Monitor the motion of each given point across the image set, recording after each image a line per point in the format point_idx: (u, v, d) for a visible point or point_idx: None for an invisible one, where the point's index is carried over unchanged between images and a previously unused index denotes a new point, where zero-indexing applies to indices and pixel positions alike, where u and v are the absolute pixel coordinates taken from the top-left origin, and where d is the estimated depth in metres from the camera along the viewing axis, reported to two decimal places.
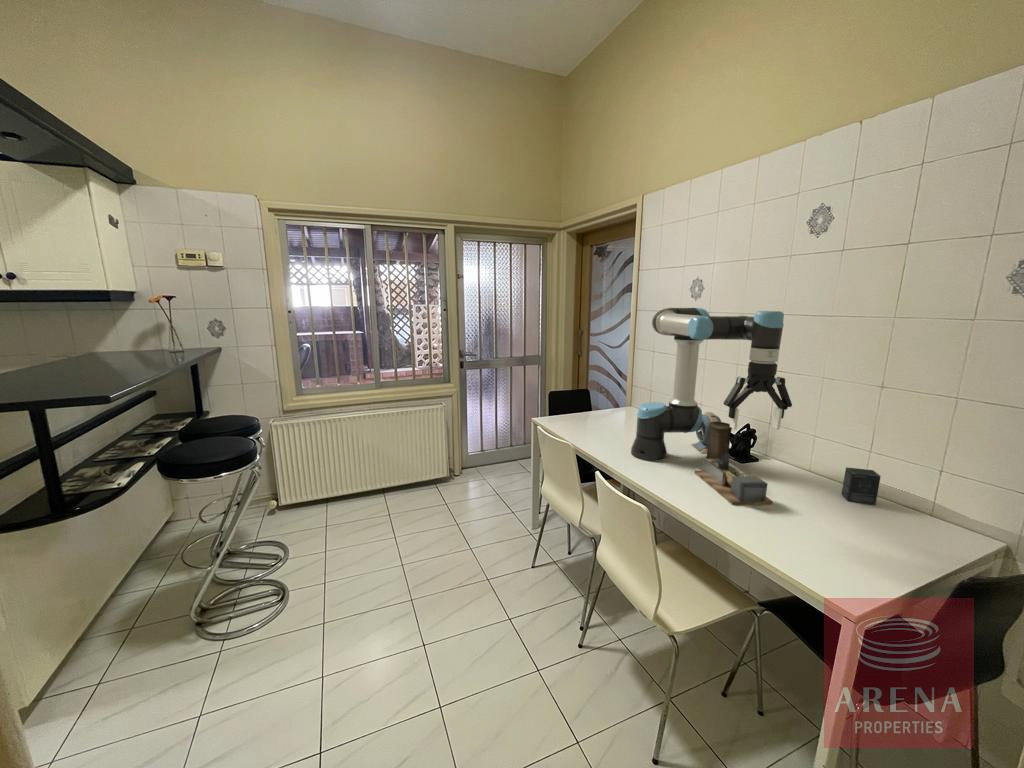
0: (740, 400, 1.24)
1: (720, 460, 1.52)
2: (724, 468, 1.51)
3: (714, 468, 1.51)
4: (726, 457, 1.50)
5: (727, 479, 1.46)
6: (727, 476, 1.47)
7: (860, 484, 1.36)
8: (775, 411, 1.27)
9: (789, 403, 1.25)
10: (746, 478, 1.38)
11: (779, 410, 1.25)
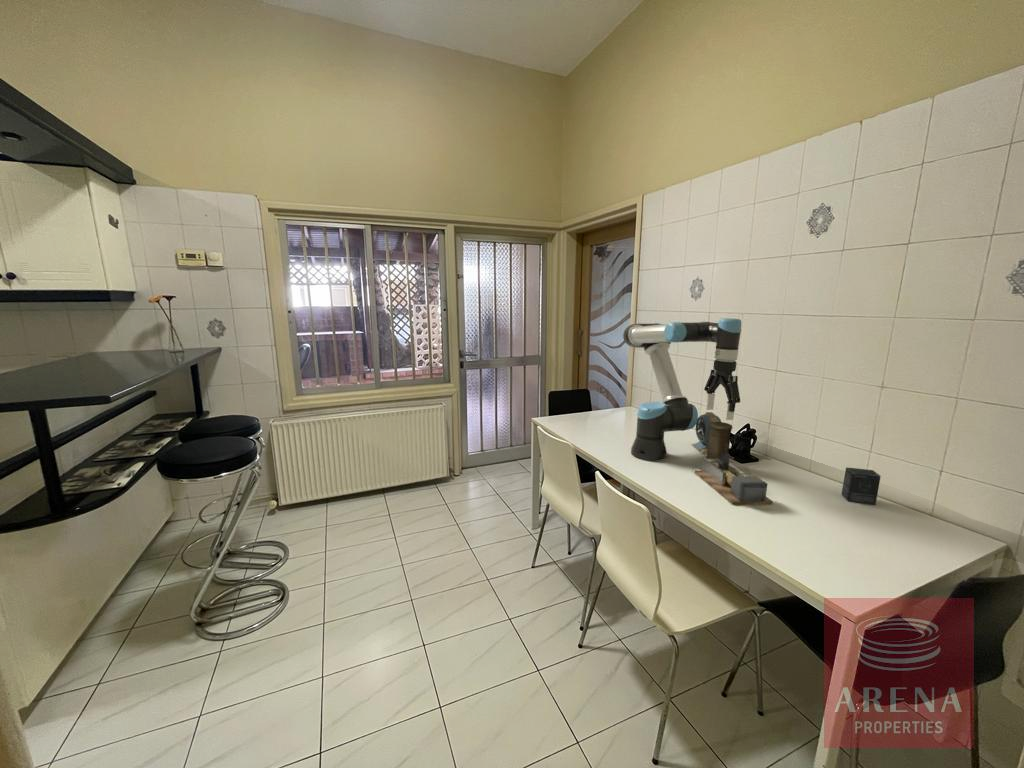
0: (709, 387, 1.59)
1: (720, 460, 1.52)
2: (724, 468, 1.51)
3: (714, 468, 1.51)
4: (726, 457, 1.50)
5: (727, 479, 1.46)
6: (727, 476, 1.47)
7: (860, 484, 1.36)
8: None
9: (732, 399, 1.44)
10: (746, 478, 1.38)
11: None
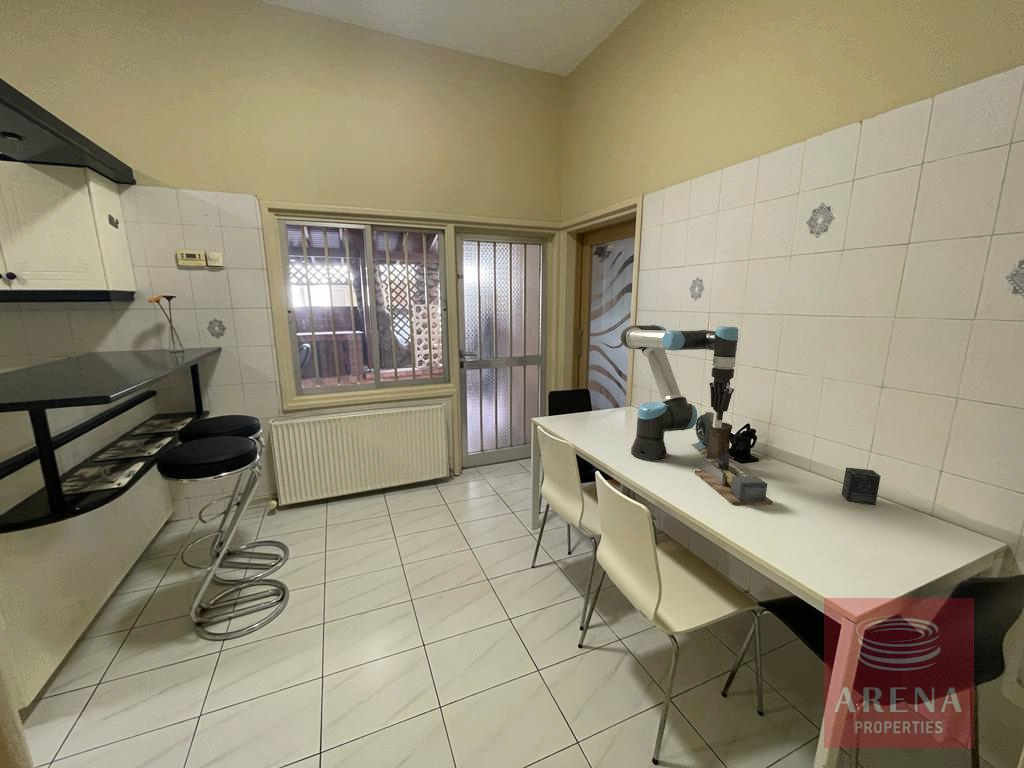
0: (714, 402, 1.56)
1: (720, 460, 1.52)
2: (724, 468, 1.51)
3: (714, 468, 1.51)
4: (726, 457, 1.50)
5: (727, 479, 1.46)
6: (727, 476, 1.47)
7: (860, 484, 1.36)
8: None
9: (720, 408, 1.52)
10: (746, 478, 1.38)
11: None
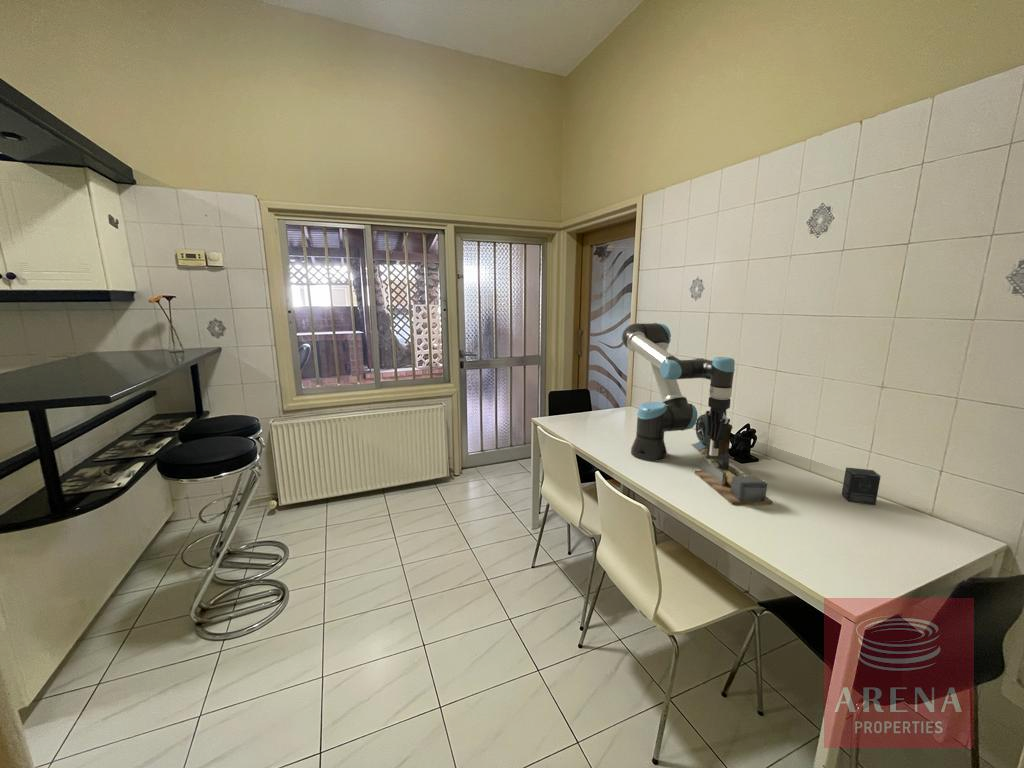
0: (711, 430, 1.59)
1: (720, 460, 1.52)
2: (724, 468, 1.51)
3: (714, 468, 1.51)
4: (726, 457, 1.50)
5: (727, 479, 1.46)
6: (727, 476, 1.47)
7: (860, 484, 1.36)
8: None
9: (717, 437, 1.54)
10: (746, 478, 1.38)
11: None
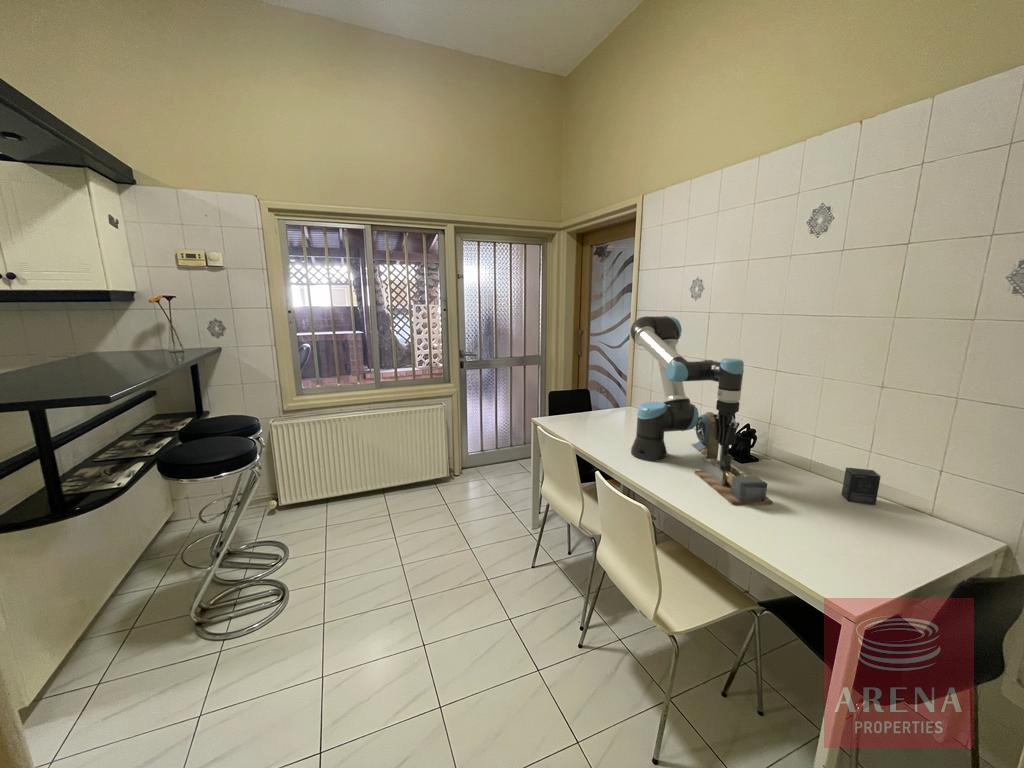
0: (719, 434, 1.53)
1: (722, 461, 1.51)
2: (726, 469, 1.50)
3: (714, 468, 1.51)
4: (728, 458, 1.49)
5: (729, 480, 1.45)
6: (728, 477, 1.46)
7: (860, 484, 1.36)
8: None
9: (725, 442, 1.49)
10: (746, 478, 1.38)
11: None
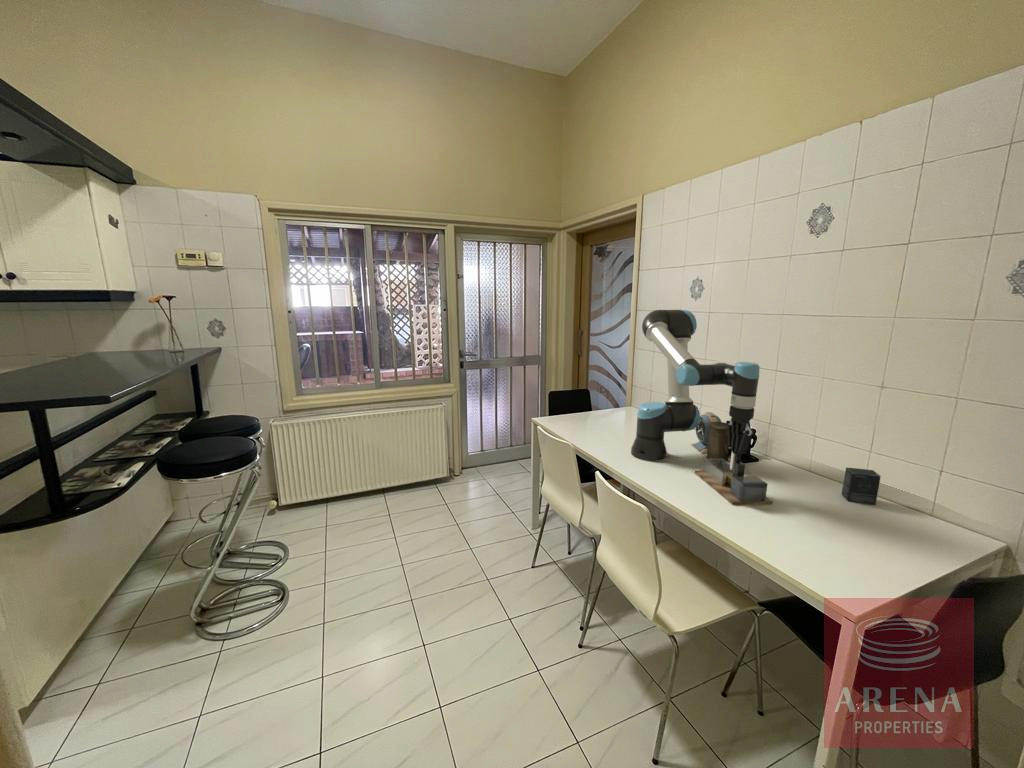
0: (731, 442, 1.45)
1: (734, 470, 1.43)
2: None
3: (714, 468, 1.51)
4: (741, 467, 1.41)
5: None
6: None
7: (860, 484, 1.36)
8: None
9: (739, 450, 1.41)
10: (746, 478, 1.38)
11: None
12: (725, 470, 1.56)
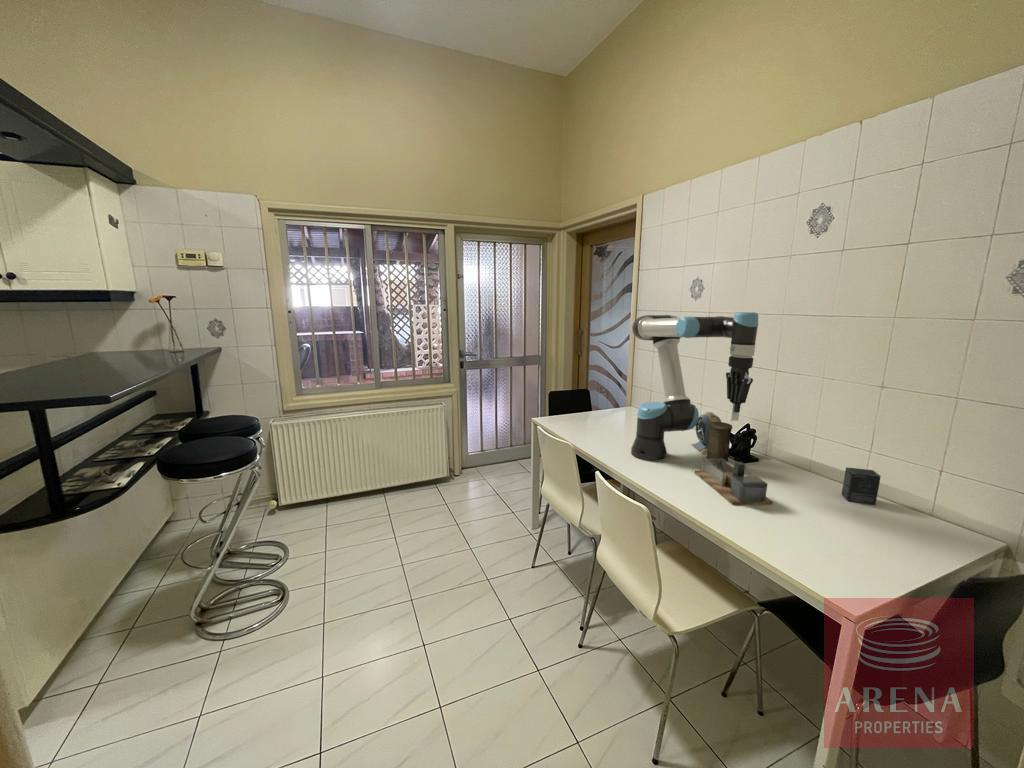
0: (731, 393, 1.46)
1: (734, 470, 1.43)
2: None
3: (714, 468, 1.51)
4: (741, 467, 1.41)
5: None
6: None
7: (860, 484, 1.36)
8: None
9: (738, 399, 1.42)
10: (746, 478, 1.38)
11: None
12: (725, 470, 1.56)
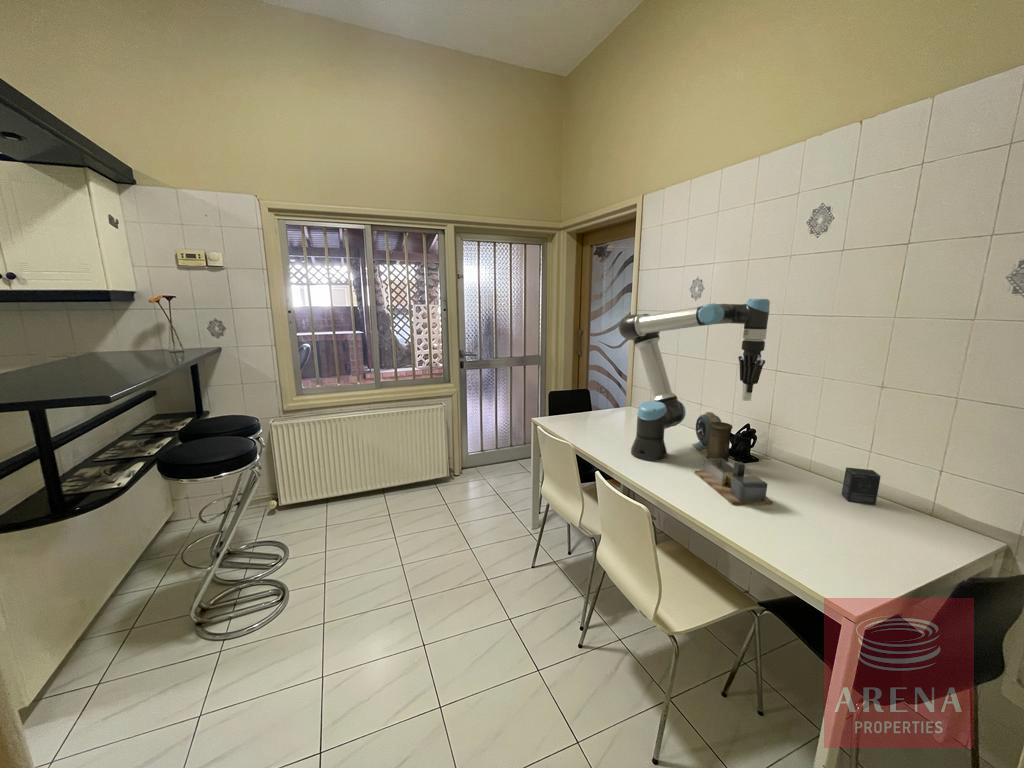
0: (743, 375, 1.57)
1: (734, 470, 1.43)
2: None
3: (714, 468, 1.51)
4: (741, 467, 1.41)
5: None
6: None
7: (860, 484, 1.36)
8: None
9: (751, 380, 1.53)
10: (746, 478, 1.38)
11: None
12: (725, 470, 1.56)
